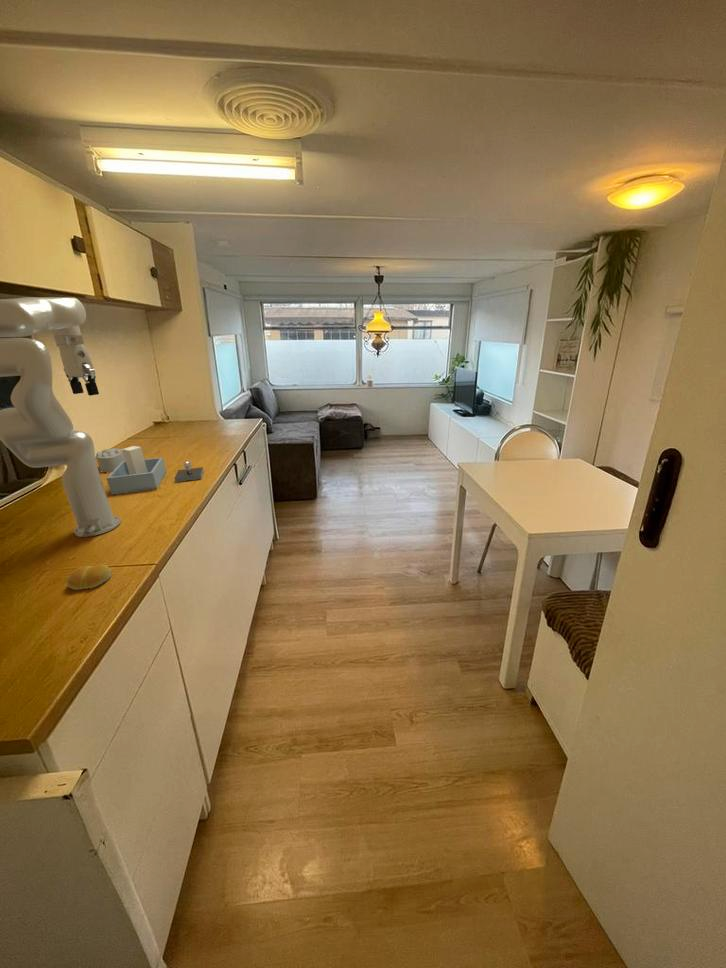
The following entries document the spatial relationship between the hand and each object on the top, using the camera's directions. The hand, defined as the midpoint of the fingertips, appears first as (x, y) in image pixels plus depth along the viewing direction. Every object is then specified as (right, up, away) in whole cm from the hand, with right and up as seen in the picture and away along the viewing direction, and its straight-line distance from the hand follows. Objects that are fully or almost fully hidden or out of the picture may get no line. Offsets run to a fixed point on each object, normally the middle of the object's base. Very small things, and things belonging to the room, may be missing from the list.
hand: (86, 394), depth 130 cm
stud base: (+22, -28, +30) cm, 47 cm away
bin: (+4, -31, +25) cm, 40 cm away
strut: (+4, -30, +25) cm, 39 cm away
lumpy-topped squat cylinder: (-19, -24, +43) cm, 53 cm away
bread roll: (+27, -56, -35) cm, 72 cm away
